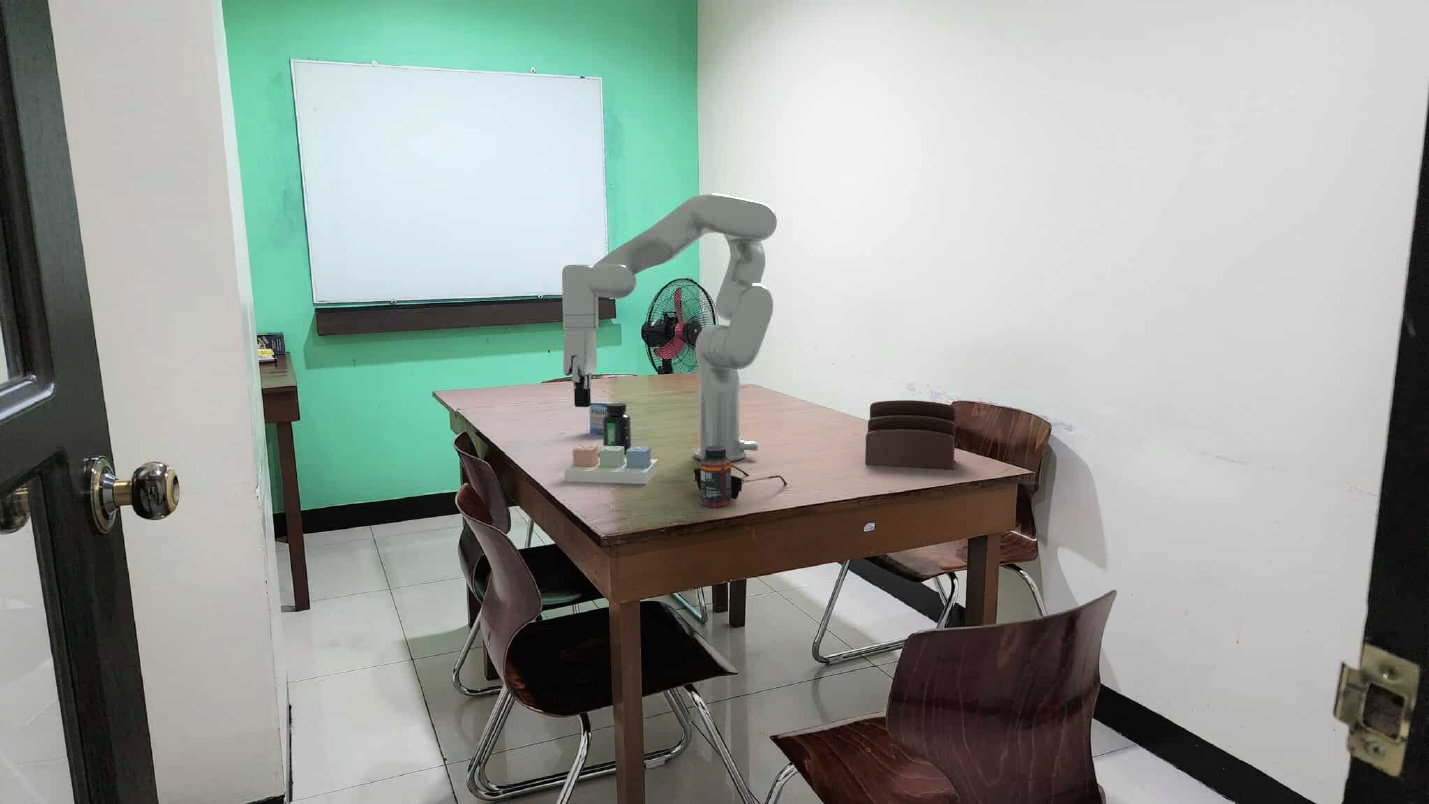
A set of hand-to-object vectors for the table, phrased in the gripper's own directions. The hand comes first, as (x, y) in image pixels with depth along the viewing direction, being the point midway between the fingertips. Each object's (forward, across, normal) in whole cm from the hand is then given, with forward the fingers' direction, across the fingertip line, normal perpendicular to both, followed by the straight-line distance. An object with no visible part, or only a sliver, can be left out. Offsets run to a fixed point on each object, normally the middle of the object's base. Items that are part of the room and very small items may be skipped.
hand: (582, 406), depth 189 cm
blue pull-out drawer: (+13, 0, +12) cm, 18 cm away
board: (+15, 0, +6) cm, 17 cm away
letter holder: (+15, -21, +72) cm, 77 cm away
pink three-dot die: (+13, 0, 0) cm, 13 cm away
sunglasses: (+16, +6, +36) cm, 40 cm away
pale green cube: (+13, 0, +6) cm, 15 cm away
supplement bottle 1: (+16, -23, +1) cm, 28 cm away
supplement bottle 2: (+16, +19, +32) cm, 41 cm away
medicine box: (+15, -45, -8) cm, 48 cm away
